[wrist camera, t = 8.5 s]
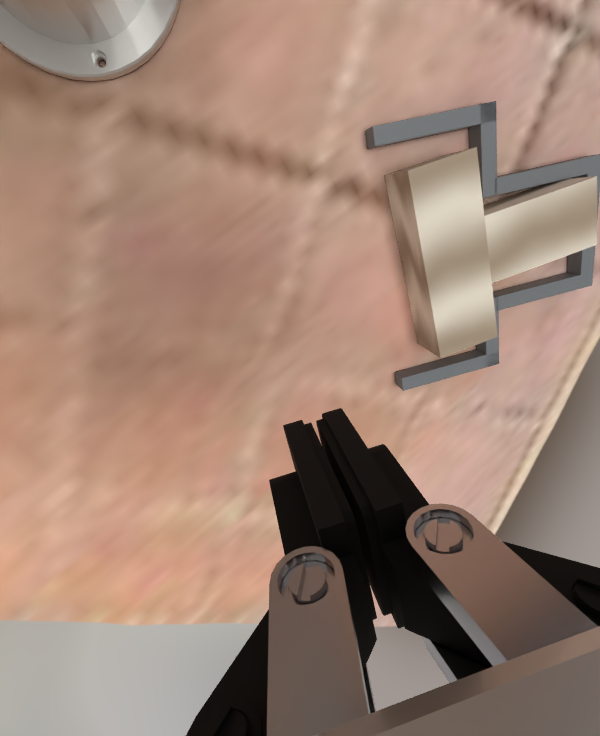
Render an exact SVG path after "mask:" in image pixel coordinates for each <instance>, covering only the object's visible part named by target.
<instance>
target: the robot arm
mask: <svg viewBox="0 0 600 736" xmlns="http://www.w3.org/2000/svg"><path fill="white" fill-rule="evenodd" d="M179 4H180V0H0V42H1V43H2V44H3V45H4V46H5V47H7V48H8V49H9V50H11V51H12V52H14V53H15V54H16V55H18V56H19V57H21V58H22V59H24V60H25V61H26V62H28V63H30V64H32V65H34V66H36V67H38V68H40V69H42V70H44V71H46V72H48V73H51V74H55V75H58V76H62V77H65V78H68V79H73V80H84V81H99V80H108V79H114V78H117V77H119V76H122V75H125V74H127V73H130V72H132V71H134V70H135V69H137V68H138V67H140V66H141V65H143V64H144V63H146V62H147V61H148V60H149V59H150V58H151V57H152V56H153V55H154V54H155V53H156V52H157V50H158V49H159V48H160V47H161V46H162V44H163V42H164V41H165V39H166V37H167V36H168V34H169V32H170V30H171V29H172V26H173V23H174V20H175V17H176V14H177V11H178V8H179ZM100 60H105V61H106V66H105V67H103V68H101V67H99V61H100ZM322 418H323V419H321V420H318V421H316V422H317V427H318V431H319V436H320V440H321V443H320V441H319V439H318V437H317V435H316V432H315V430H314V428H313V426H312V424H311V423H308V424H304V423H303V421H302V420H300V421H296V422H293V423H290V424H286V425H283V427H284V431H285V434H286V438H287V442H288V445H289V449H290V452H291V456H292V460H293V463H294V467H295V470H296V472H293V473H290V474H286V475H283V476H280V477H277V478H274V479H270V480H269V481H270V487H271V491H272V496H273V501H274V506H275V510H276V515H277V520H278V525H279V529H280V534H281V539H282V544H283V548H284V553H285V556H284V557H283V558H282V559H281V560H280V561H279V562H278V563H277V564H276V566H275V568H274V570H273V572H272V574H271V579H270V584H269V610H268V611H267V613H266V614H265V616H264V617H263V619H262V620H261V622H260V623H259V625H258V626H257V628H256V629H255V630H254V632H253V633H252V635H251V636H250V638H249V639H248V641H247V642H246V644H245V645H244V647H243V648H242V650H241V651H240V653H239V654H238V656H237V657H236V658H235V660H234V661H233V663H232V665H231V666H230V667H229V669H228V670H227V672H226V673H225V675H224V676H223V678H222V679H221V681H220V682H219V684H218V685H217V687H216V688H215V689H214V691H213V692H212V694H211V695H210V697H209V698H208V700H207V701H206V703H205V704H204V706H203V707H202V709H201V710H200V712H199V713H198V715H197V716H196V718H195V720H194V722H193V724H192V725H191V727H190V729H189V731H188V733H187V735H186V736H600V568H597V567H593V566H590V565H587V564H583V563H579V562H576V561H572V560H568V559H565V558H561V557H557V556H554V555H550V554H547V553H543V552H539V551H535V550H532V549H528V548H524V547H521V546H517V545H514V544H510V543H507V542H503V541H500V539H499V538H498V537H496V536H495V535H494V534H493V533H492V532H491V531H490V530H488V529H487V528H486V527H485V526H484V525H483V524H482V523H481V522H479V521H478V520H477V519H476V518H475V517H474V516H473V515H471V514H470V513H468V512H467V511H465V510H464V509H462V508H459V507H456V506H453V505H448V504H431V505H429V504H428V502H427V501H426V500H425V498H424V497H423V496H422V494H421V493H420V491H419V490H418V489H417V487H416V486H415V485H414V483H413V482H412V481H411V479H410V478H409V477H408V475H407V474H406V472H405V471H404V470H403V468H402V467H401V466H400V464H399V463H398V462H397V460H396V459H395V458H394V456H393V455H392V453H391V452H390V451H389V449H388V448H387V447H386V446H385V445H383V444H382V445H379V446H375V447H372V448H369V449H368V448H367V447H366V445H365V443H364V442H363V440H362V439H361V437H360V436H359V434H358V433H357V431H356V430H355V428H354V427H353V425H352V424H351V422H350V420H349V419H348V417H347V416H346V414H345V413H344V411H343V410H342V409H341V408H339V409H336V410H333V411H329V412H326V413H323V414H322ZM321 444H322V445H321ZM369 583H370V584H369ZM370 586H371V588H372V590H373V593H374V595H375V598H376V600H377V602H378V605H379V607H380V609H381V612H382V614H383V615H384V616H385V615H388V614H390V613H392V616H393V618H394V620H395V622H396V625H397V627H398V628H401V627H405V629H407V630H409V631H411V632H414V633H416V634H418V635H420V636H422V639H423V641H424V643H425V646H426V648H427V650H428V651H429V652H430V654H431V655H432V657H433V659H434V660H435V662H436V663H437V665H438V666H439V668H440V669H441V670H442V672H443V673H444V675H445V677H446V678H447V680H448V681H449V684H447V685H444V686H441V687H439V688H436V689H434V690H431V691H428V692H426V693H423V694H420V695H418V696H415V697H413V698H410V699H407V700H405V701H402V702H400V703H397V704H395V705H392V706H389V707H387V708H384V709H381V710H379V711H376V708H375V703H374V698H373V693H372V688H371V682H370V677H369V672H368V668H367V664H366V663H367V661H368V659H369V656H370V654H371V652H372V649H373V647H374V645H375V642H376V640H377V638H376V633H375V629H374V624H373V620H374V619H377V616H376V611H375V607H374V602H373V598H372V593H371V588H370Z"/></svg>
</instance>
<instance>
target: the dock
mask: <svg viewBox="0 0 600 736" xmlns="http://www.w3.org/2000/svg"><path fill="white" fill-rule="evenodd" d="M465 128H469V149H471V148H475V147H477V153H478V162H479V171H480V180H481V190H482V198H486V197H491V196H495V195H499V194H504V193H508V192H512V191H516V190H521V189H525V188H529V187H533V186H538V185H542V184H546V183H550V182H555V181H559V180H563V179H568V178H572V179H573V178H583V177H594V176H597V217H598V205H599V192H600V154H598V155H591V156H585V157H581V158H576V159H572V160H568V161H563V162H559V163H555V164H550V165H546V166H541V167H537V168H533V169H528V170H524V171H520V172H515V173H511V174H507V175H502V176H498V177H497V140H496V101H494V102H489V103H484V104H479V105H475V106H470V107H465V108H460V109H455V110H450V111H446V112H441V113H436V114H431V115H426V116H421V117H417V118H412V119H407V120H402V121H397V122H393V123H388V124H383V125H378V126H373V127H371V128H369V129H368V130H366V131H365V132H366V140H367V149H372V148H376V147H381V146H386V145H390V144H395V143H400V142H405V141H409V140H414V139H419V138H423V137H428V136H433V135H437V134H442V133H447V132H451V131H456V130H461V129H465ZM594 255H595V246H592V247H589V248H587V249H584V250H581V251H578V252H576V253H573V254H570V255H568V260H567V273H563V274H560V275H556V276H552V277H548V278H544V279H540V280H537V281H533V282H529V283H525V284H521V285H518V286H514V287H510V288H506V289H502V290H498V291H495V292H493V299H494V308H495V317H496V326H497V335H498V337H496V338H493V339H490V340H488V341H485V342H482V343H480V344H477V345H476V350H473V351H469V352H466V353H462V354H459V355H455V356H451V357H448V358H444V359H441V360H437V361H433V362H430V363H426V364H422V365H419V366H415V367H412V368H408V369H404V370H401V371H397V372H395V378H396V384H397V385H398V386H399V387H400V388H401V389H402V390H403V391H404V390H407V389H411V388H414V387H418V386H422V385H425V384H429V383H432V382H436V381H439V380H443V379H446V378H450V377H453V376H457V375H460V374H464V373H467V372H471V371H475V370H478V369H482V368H485V367H489V366H492V365H496V364H499V321H498V310H502V309H505V308H509V307H513V306H517V305H520V304H524V303H528V302H532V301H535V300H539V299H543V298H546V297H550V296H554V295H558V294H561V293H565V292H569V291H573V290H576V289H580V288H584V287H588V286H591V285H592V279H593V267H594Z"/></svg>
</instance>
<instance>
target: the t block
mask: <svg viewBox="0 0 600 736" xmlns="http://www.w3.org/2000/svg"><path fill="white" fill-rule="evenodd" d="M384 177H385V182H386V187H387V192H388V197H389V202H390V207H391V212H392V217H393V222H394V227H395V232H396V237H397V242H398V247H399V252H400V257H401V262H402V267H403V272H404V277H405V283H406V288H407V293H408V298H409V303H410V308H411V313H412V318H413V323H414V328H415V333H416V338H417V343H418V344H419V345H421V346H423V347H424V348H426V349H427V350H429V351H430V352H432V353H433V354H435V355H437V356H438V357H440V358H443V357H445V356H448V355H451V354H453V353H456V352H459V351H461V350H464V349H467V348H469V347H472V346H474V345H477V344H480V343H482V342H485V341H488V340H490V339H493V338H496V337H498V335H497V326H496V317H495V308H494V299H493V290H492V283H494V282H497V281H499V280H502V279H505V278H508V277H510V276H513V275H516V274H518V273H521V272H524V271H527V270H529V269H532V268H535V267H538V266H540V265H543V264H546V263H548V262H551V261H554V260H557V259H559V258H562V257H565V256H568V255H570V254H573V253H576V252H578V251H581V250H584V249H587V248H589V247H592V246H595V245H597V176H594V177H583V178H573V179H563V180H559V181H555V182H550V183H546V184H542V185H540V186H537V187H534V188H531V189H528V190H525V191H522V192H520V193H517V194H514V195H511V196H508V197H505V198H503V199H500V200H497V201H494V202H491V203H488V204H485V205H483V199H482V190H481V180H480V171H479V162H478V153H477V147H475V148H471V149H467V150H463V151H459V152H455V153H451V154H447V155H443V156H440V157H438V158H435V159H432V160H429V161H426V162H423V163H420V164H417V165H414V166H411V167H408V168H405V169H402V170H399V171H396V172H393V173H390V174H388V175H385V176H384Z"/></svg>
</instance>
